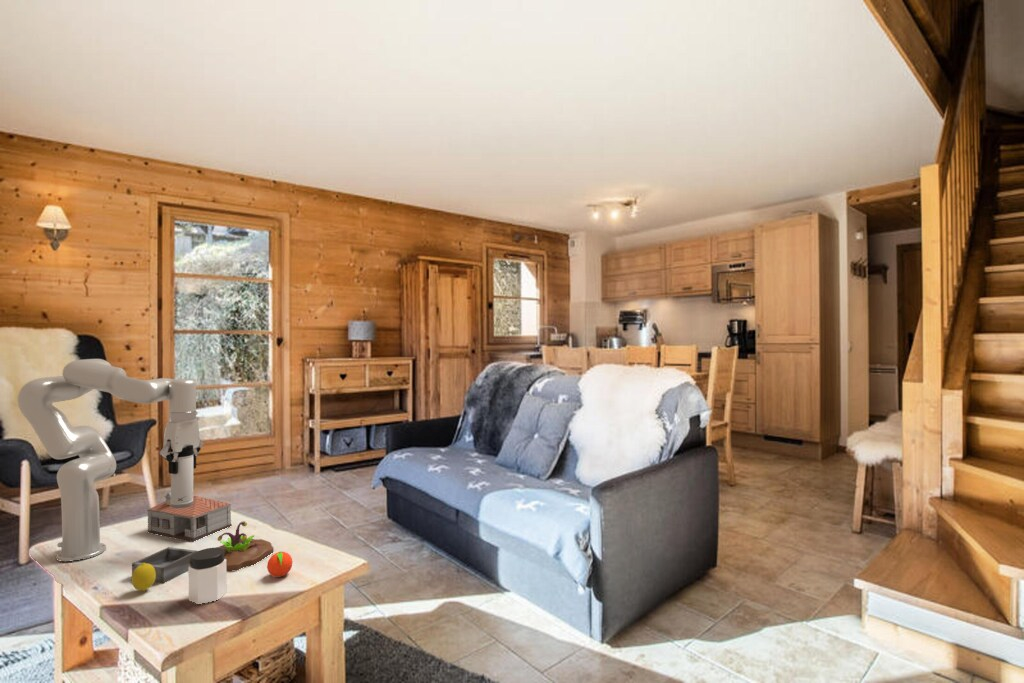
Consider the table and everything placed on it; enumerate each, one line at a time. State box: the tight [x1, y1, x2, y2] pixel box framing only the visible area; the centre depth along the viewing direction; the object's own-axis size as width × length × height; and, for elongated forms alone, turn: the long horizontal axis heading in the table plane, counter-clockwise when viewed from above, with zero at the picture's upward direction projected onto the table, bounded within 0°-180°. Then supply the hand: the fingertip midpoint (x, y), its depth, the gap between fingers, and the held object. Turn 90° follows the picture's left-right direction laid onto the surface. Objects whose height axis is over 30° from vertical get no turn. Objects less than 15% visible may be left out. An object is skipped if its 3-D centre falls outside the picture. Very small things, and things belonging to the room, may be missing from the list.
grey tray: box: [131, 546, 198, 584], centre depth 157 cm, size 12×12×4 cm
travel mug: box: [170, 445, 194, 508], centre depth 171 cm, size 6×7×20 cm
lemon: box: [131, 563, 156, 592], centre depth 145 cm, size 6×6×8 cm
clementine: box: [266, 551, 293, 578], centre depth 153 cm, size 8×7×7 cm
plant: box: [215, 521, 274, 572], centre depth 167 cm, size 20×20×11 cm
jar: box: [187, 547, 228, 605], centre depth 141 cm, size 9×8×12 cm
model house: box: [146, 491, 233, 543], centre depth 190 cm, size 24×16×15 cm, turn 68°
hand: (182, 470), depth 171 cm, fingers closed on travel mug, 6 cm apart
